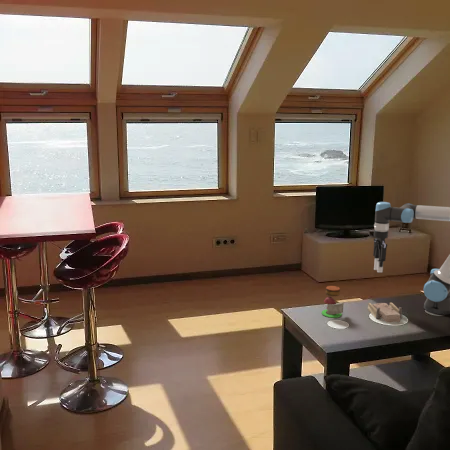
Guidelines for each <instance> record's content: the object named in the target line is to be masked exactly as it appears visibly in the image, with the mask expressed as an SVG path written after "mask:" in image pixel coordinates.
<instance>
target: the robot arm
mask: <svg viewBox="0 0 450 450" xmlns="http://www.w3.org/2000/svg"><path fill="white" fill-rule="evenodd" d="M414 219H418V220H430V221H442V222H450V206H439V205H438V206H437V205H436V206H434V205H421V204H419V205H418V204H412V203H405V204H403V205H402V206H400V207H396V206H391V203H390V202H387V201H379V202H377V203H376V205H375V214H374V224H373V227H374V230H373V237H374V238H373V251H372V252H373V253H372V255H373V258H374V263H373V264H374V266H373V270H374V271H376V272H377V273H383V272H384V271H383V270H384V262H386V256H387V249H388V243H386V239H387V238H388V237H389V230H390V229H389V228H390V221H391V222H396V223H397V222H400V223H404V224H405V223H409V224H410V223H413V220H414ZM429 275H430V277H429V278H428V280H427V281H426V283H424V285H423V293H424V296H425V297H426V300H425V301H424V304H423V308H424V310H425V309H426V310H425V311H427V312H430V313H432V314H435V313H437V314H436V315H443V314H446V315H450V254H448V256H447V258H446V259H445V261H444V262H443V264H442V265H441V266H440V268H432V269H431V270H430V273H429Z"/></svg>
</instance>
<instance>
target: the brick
mask: <svg viewBox="0 0 450 450" xmlns="http://www.w3.org/2000/svg"><path fill="white" fill-rule="evenodd" d="M372 305H373V306H374V307H375V308H376V309H377V308H380V313H379V319H382V321H385V322H386V323H399V322H401V319H400V314H399V313H398V312H396V311H395V310H393V309H392V308H391V307H390V306H389V305H390V304H388V303H386V302H378V303H372Z"/></svg>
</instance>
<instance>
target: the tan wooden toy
mask: <svg viewBox="0 0 450 450" xmlns="http://www.w3.org/2000/svg"><path fill="white" fill-rule="evenodd" d="M388 305H389V306H390V307H391V308H392V309H393V310H395V311H396V312H398V313H399V314H400V320H401V319H402V314H403V307H401V306H399V307H397V306H396V305H395V304H394V303H393V302H389V304H388ZM367 311H368V312H369V313H370V312H371V313H370V314H371V315H372V316H373V317H374V318H375V320H380V317H379V313H380V308H377V309H376V308H375V307H374V306H373V303H371V302H368V303H367Z"/></svg>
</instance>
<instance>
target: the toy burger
mask: <svg viewBox="0 0 450 450" xmlns="http://www.w3.org/2000/svg"><path fill="white" fill-rule="evenodd" d="M340 292H341V288H340V287H339V286H336V285H327V286H326V287H325V295H326V296H327V297H325V299H324V300H323V302H324V303H325V304H326V305H327V306H326V309H323V310H322V311H321V315H322V316H324V317H326V318H331V319H332V318H333V319H335V318H341V316H342V313H344V304H345V303H344V302H345V301H344V302H342V303H339V304H337V302H336V300H335V299H334V298H333V297H338V296H340V294H341V293H340Z"/></svg>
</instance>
